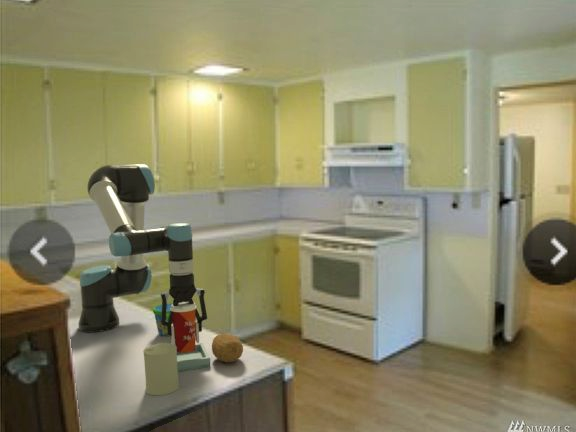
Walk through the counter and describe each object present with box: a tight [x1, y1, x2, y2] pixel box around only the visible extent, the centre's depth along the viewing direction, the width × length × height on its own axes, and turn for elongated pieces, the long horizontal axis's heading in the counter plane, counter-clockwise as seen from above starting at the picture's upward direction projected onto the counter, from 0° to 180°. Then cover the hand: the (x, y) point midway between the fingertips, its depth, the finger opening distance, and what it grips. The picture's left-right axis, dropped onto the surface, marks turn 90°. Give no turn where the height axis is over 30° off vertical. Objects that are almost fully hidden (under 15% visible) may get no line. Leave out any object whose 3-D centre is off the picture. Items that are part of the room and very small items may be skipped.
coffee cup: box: [170, 302, 198, 353], centre depth 162 cm, size 8×8×15 cm
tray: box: [177, 342, 211, 373], centre depth 163 cm, size 14×13×3 cm
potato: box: [211, 332, 244, 363], centre depth 163 cm, size 10×14×8 cm
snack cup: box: [152, 302, 173, 337], centre depth 190 cm, size 16×10×10 cm
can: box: [143, 342, 180, 396], centre depth 144 cm, size 9×9×12 cm
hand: (185, 343), depth 162 cm, fingers closed on coffee cup, 7 cm apart
